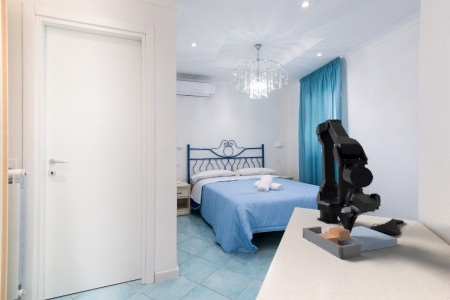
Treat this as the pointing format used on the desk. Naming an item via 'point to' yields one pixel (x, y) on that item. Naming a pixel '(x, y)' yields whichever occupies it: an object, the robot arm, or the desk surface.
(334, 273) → the desk surface
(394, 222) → the black spiral-grooved part
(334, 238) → the tile
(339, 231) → the tile
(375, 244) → the board
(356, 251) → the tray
